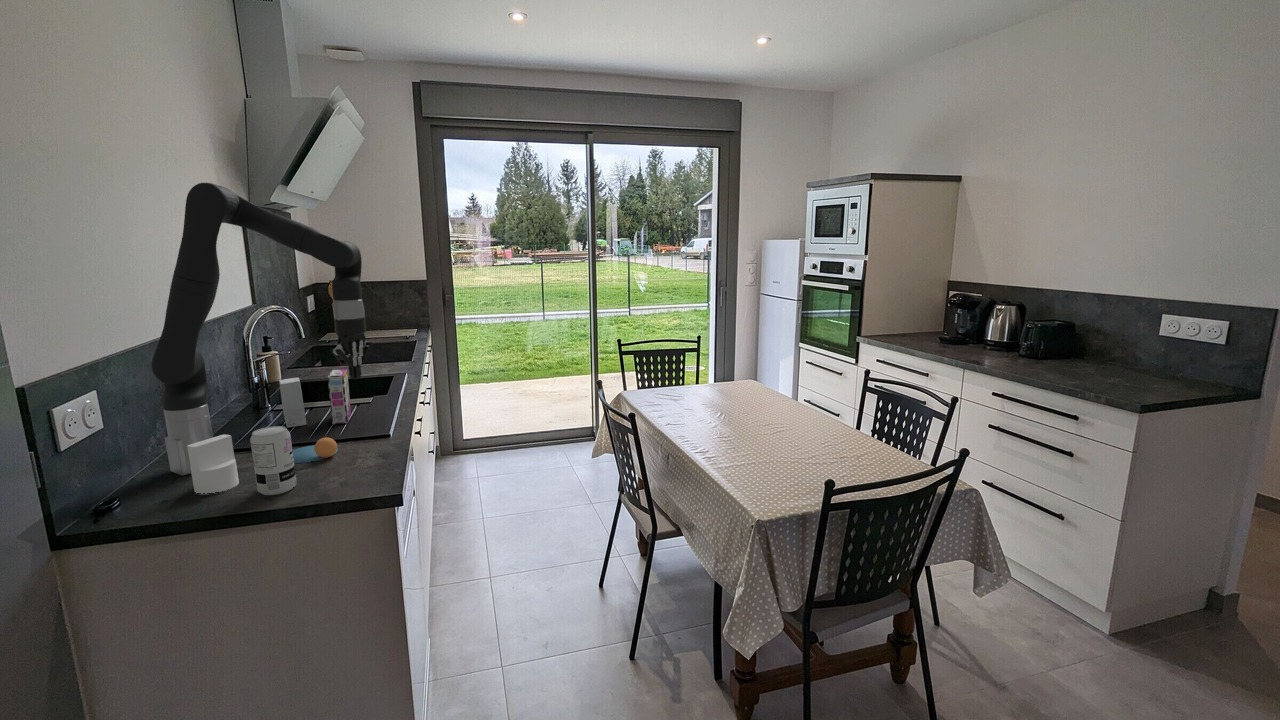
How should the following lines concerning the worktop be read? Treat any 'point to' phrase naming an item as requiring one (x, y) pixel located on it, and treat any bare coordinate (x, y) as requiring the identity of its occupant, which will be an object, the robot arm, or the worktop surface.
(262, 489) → the supplement can
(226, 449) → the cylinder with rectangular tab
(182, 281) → the robot arm
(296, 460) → the disc
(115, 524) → the worktop surface
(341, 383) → the candy bar box
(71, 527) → the worktop surface
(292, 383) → the skincare box
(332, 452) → the ball
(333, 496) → the worktop surface
